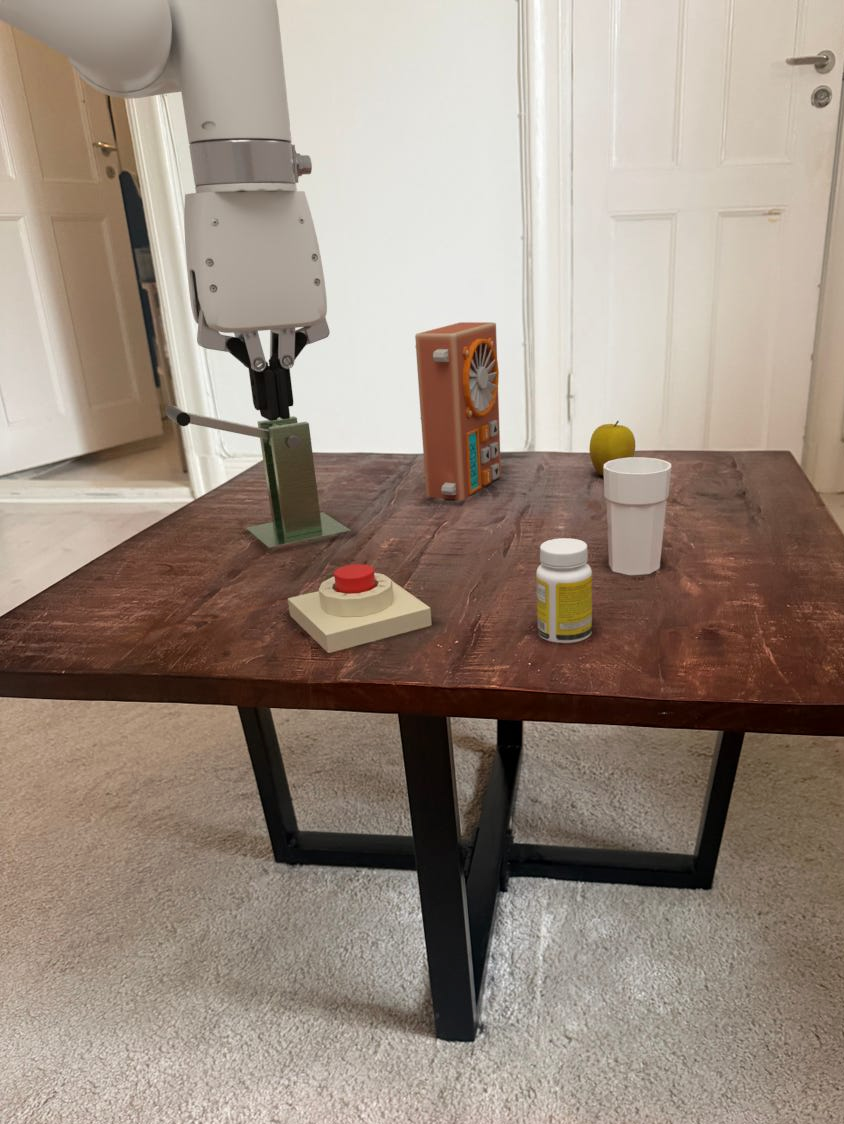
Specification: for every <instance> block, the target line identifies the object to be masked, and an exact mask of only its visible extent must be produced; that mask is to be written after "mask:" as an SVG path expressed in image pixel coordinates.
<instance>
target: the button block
mask: <svg viewBox="0 0 844 1124" xmlns="http://www.w3.org/2000/svg"><path fill="white" fill-rule="evenodd" d="M374 575H375V585H376V587H375V588H373V589H372V590H370V591H366V592H362V593H354V594H345V593H340V592H337V591H336V586H335V578H334V576H332V577H330V578H328V579H326V580H324V581H322V582H321V584H320V586H319V588H318V590H317V591H313V592H309V593H305V594H301V595H296V596H291V597H288V598H287V604H288V610H289V612H288V613H289V616H290V617H291V618H292V619H293V620H294V621H295V622H296V623H297V624H298V625H299V626H300V627H301V628H302V629H303V630H304V631H305V632H306V633H307V634H308V635H309V636H310V637H311V638H312V639H313V640H314V641H315V642H316V643H317V644H318V645H319V646H320V647H321V648H322V649H323V650H324V651H325V652H326V653H328V654H331V653H334V652H338V651H342V650H345V649H350V648H353V647H357V646H360V645H361V646H362V645H365V644H367V643H372V642H375V641H380V640H383V639H386V638H390V637H394V636H398V635H401V634H405V633H409V632H413V631H416V630H420V629H424V628H427V627H431V626H432V625H433V624H432V609H431V607H430V606H428V605H427V604H425V603H424V602H423V601H421V599H419V598H417V597H416V596H414V595H413V594H412V593H410V592H409V591H407V589H404V588H403V587H402V586H400V585H398V583H396V582H394V581H393V580H392V578H389V577H388V576H387V575H386V574H383V573H378V572H374Z"/></svg>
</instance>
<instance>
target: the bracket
mask: <svg viewBox="0 0 844 1124" xmlns="http://www.w3.org/2000/svg"><path fill="white" fill-rule="evenodd" d="M272 424H277V425H280V426H273V427H272ZM257 427H259V428H263V429H268V430H269V434H270V441H271V445H269V440H268V439H263V438H259V441H260V448H261V455H262V463H263V467H264V474H265V482H266V488H267V495H268V502H269V503H268V504H269V508H270V514H271V516H270V517H271V522H266V523H261V524H256V525H251V526H246V527H245V529H246V530H247V531H249V532H250V533H251V534H252V535H253V536H255V538H257V540H259V541H260V542H261V543H263V544H264V545H265V546H266V547H267V548H273V547H279V546H282V545H287V544H288V545H289V544H292V543H296V542H302V541H306V540H311V539H316V538H321V537H326V536H331V535H336V534H340V533H345V532H350V531H351V529H350V528H348V527H346V526H345V525H344V524H342V523H341V522H339V521H337V520H336V519H335V518H333V517H331V516H330V515H329V514H327V513H326V512H324V511H323V512H321V510H320V501H319V493H318V486H317V478H316V477H317V476H316V469H315V461H314V453H313V446H312V445H313V444H312V438H311V430H310V429H311V427H310V423H309V422H307V421H301V422H298V417H296V416H294V415H293V416H290V418H289V419H281V418H277V420H274V421H270V420H268V419H266V420H265V419H264V420H259V421H257Z"/></svg>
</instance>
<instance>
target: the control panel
mask: <svg viewBox="0 0 844 1124" xmlns="http://www.w3.org/2000/svg"><path fill="white" fill-rule="evenodd" d="M414 338H415V339H414V340H415V353H416V355H415V356H416V367H417V369H416V370H417V383H418V396H419V397H418V398H419V410H420V411H419V412H420V417H419V418H420V423H421V437H422V439H421V440H422V452H423V467H424V481H425V494H426V498H433V499H443V500H455V501H464V500H466V499H467V498H469V497H470V496H472V495H474V494H476V493H477V492H479V491H480V490H481V489H483V488H484V487H487V486H488V485H490V484H491V483H492V482H494V481H495V480H497V479H499V478H500V477H502V467H501V466H502V464H501V436H500V433H501V432H500V404H499V401H500V399H499V379H500V378H499V377H500V376H499V375H500V374H499V373H500V372H499V362H498V346H497V345H498V343H497V341H498V340H497V323H496V322H493V321H491V322H488V321H485V322H483V321H482V322H480V321H479V322H477V321H475V322H474V321H473V322H472V321H471V322H470V321H467V322H464V321H461V322H456V323H452V324H449V325H445V326H441V327H438V328H434V329H433V328H432V329H429V330H425V331H422V332H421V331H420V332H418V333H416V334H415V336H414Z"/></svg>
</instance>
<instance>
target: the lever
mask: <svg viewBox="0 0 844 1124" xmlns="http://www.w3.org/2000/svg"><path fill="white" fill-rule="evenodd" d="M165 415H166V416H167V418H169V419H170V420H171V421H173V422H174V423H176V424H177V425H179V426H181V427H187V426H189V425H190V424H191V425H195V426H201V427H205V428H208V429H209V428H210V429H213V430H214V429H215V430H220V431H225V432H229V433H235V434H239V435H245V436H249V437H252V438H253V437H254V438H258V439H260V438H263V439H268V440H269V445H271V441H270V434H269V430H268V429H263V428H259V427H258V426H253V425H248V424H245V423H244V424H243V423H240V422H234V421H229V420H225V419H221V418H215V417H211V416H205V415H200V414H196V413H191V412H186V411H184V410H182V409H181V408H179V407H178V406H175V405H170V406H168V407H167V408H166V410H165ZM273 426H280V425H277V424H272V427H273Z"/></svg>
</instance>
